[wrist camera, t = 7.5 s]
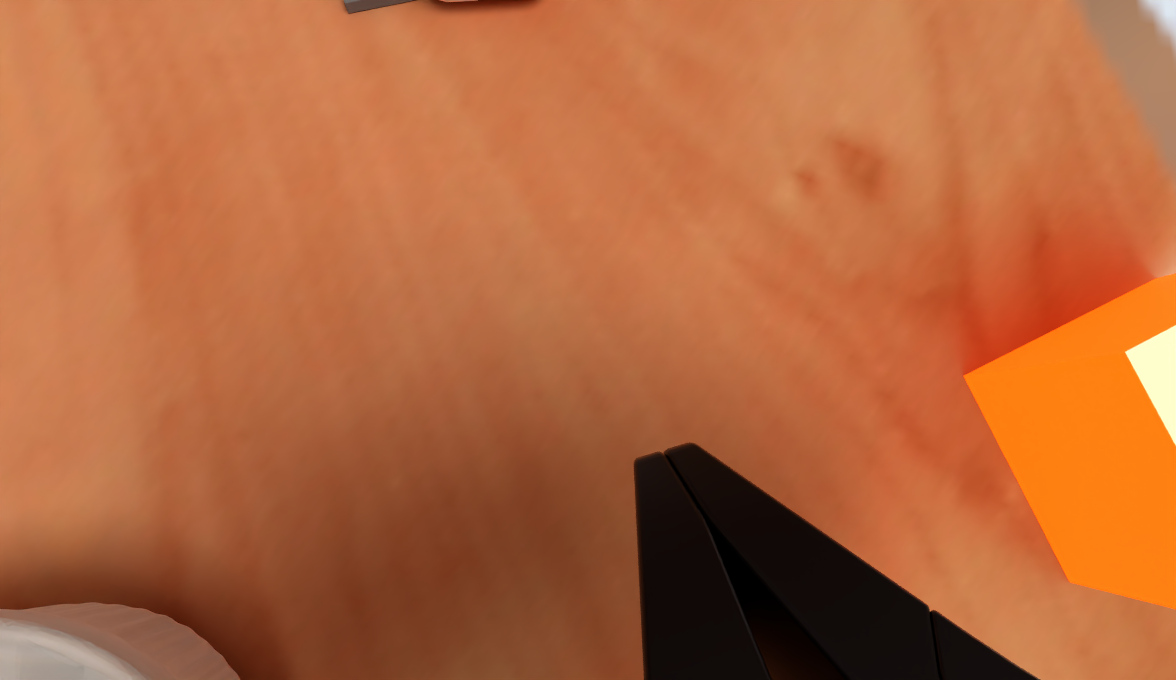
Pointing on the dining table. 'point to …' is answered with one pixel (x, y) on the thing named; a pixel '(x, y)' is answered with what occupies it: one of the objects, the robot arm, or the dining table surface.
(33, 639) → the ramekin
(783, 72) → the dining table surface
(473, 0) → the pepper shaker
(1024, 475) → the orange juice
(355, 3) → the coaster
